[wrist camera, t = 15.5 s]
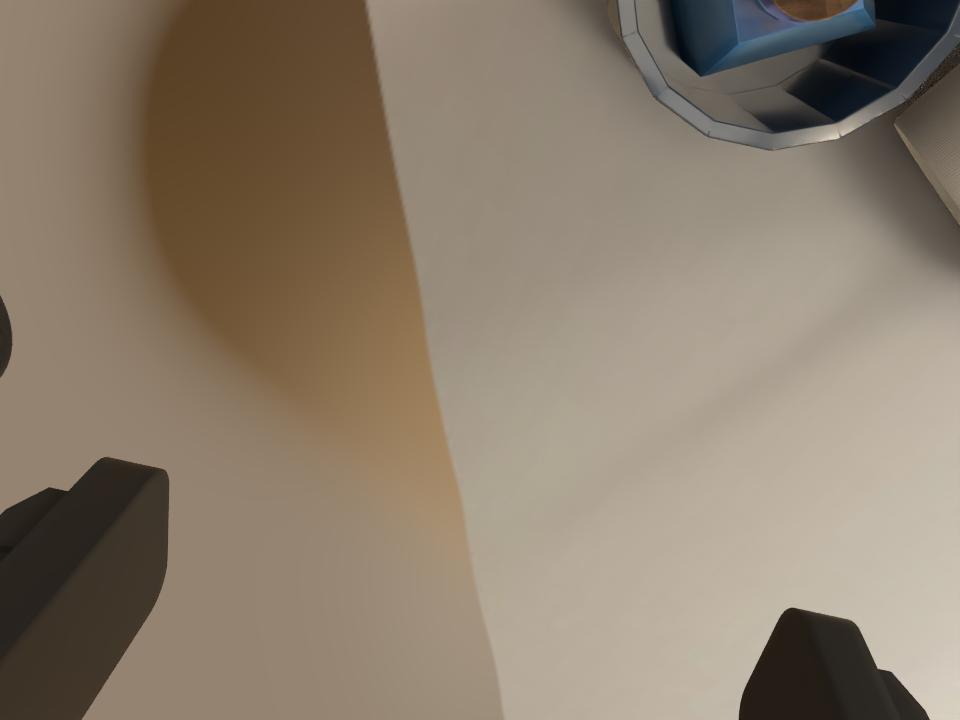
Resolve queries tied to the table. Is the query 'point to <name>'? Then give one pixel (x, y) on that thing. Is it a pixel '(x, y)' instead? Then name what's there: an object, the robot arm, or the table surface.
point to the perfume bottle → (760, 28)
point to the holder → (793, 74)
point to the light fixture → (937, 137)
